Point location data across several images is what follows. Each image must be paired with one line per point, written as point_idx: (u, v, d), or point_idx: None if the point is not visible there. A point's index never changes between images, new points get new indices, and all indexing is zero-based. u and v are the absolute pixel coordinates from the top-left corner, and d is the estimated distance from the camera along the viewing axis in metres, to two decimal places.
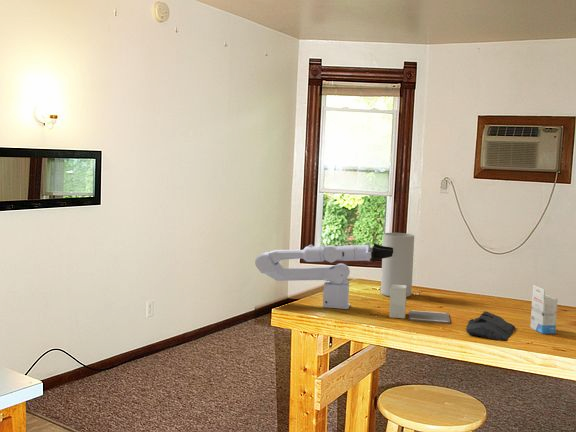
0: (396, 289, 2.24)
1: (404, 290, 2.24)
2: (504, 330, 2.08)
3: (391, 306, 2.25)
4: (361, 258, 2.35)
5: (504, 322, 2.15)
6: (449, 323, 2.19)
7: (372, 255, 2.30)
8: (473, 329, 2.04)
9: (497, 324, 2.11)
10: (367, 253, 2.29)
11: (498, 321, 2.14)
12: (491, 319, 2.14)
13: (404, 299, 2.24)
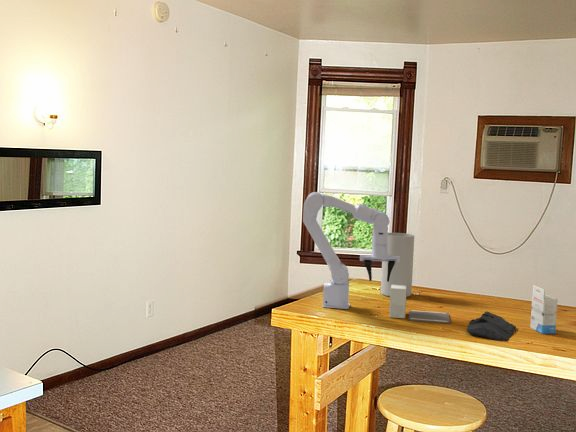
0: (396, 289, 2.24)
1: (404, 290, 2.24)
2: (505, 330, 2.07)
3: (391, 306, 2.25)
4: (385, 251, 2.35)
5: (505, 322, 2.15)
6: (449, 323, 2.19)
7: (394, 263, 2.36)
8: (474, 329, 2.04)
9: (498, 324, 2.11)
10: None
11: (499, 321, 2.14)
12: (492, 319, 2.14)
13: (404, 299, 2.24)
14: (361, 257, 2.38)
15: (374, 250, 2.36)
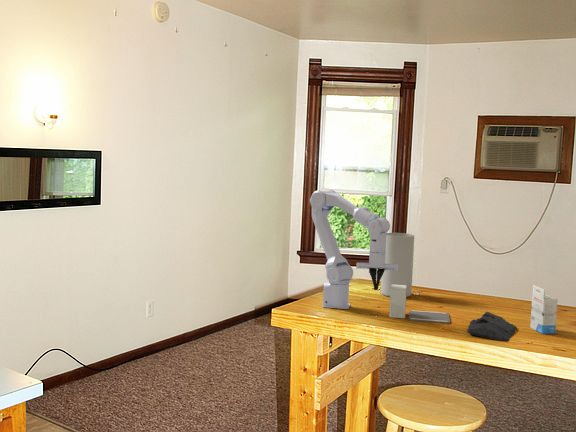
0: (396, 289, 2.24)
1: (404, 290, 2.24)
2: (506, 331, 2.07)
3: (391, 306, 2.25)
4: (383, 259, 2.26)
5: (506, 323, 2.15)
6: (449, 323, 2.19)
7: (384, 270, 2.28)
8: (474, 329, 2.04)
9: (498, 324, 2.11)
10: (397, 266, 2.28)
11: (500, 322, 2.14)
12: (493, 320, 2.14)
13: (404, 299, 2.24)
14: (358, 265, 2.29)
15: (371, 258, 2.27)
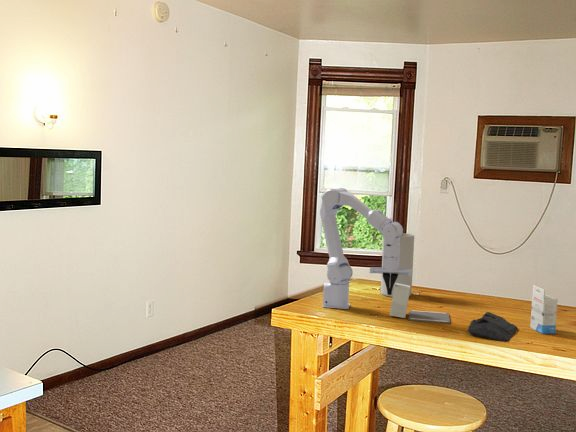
0: (400, 288, 2.24)
1: (408, 290, 2.23)
2: (506, 331, 2.07)
3: (393, 304, 2.25)
4: (396, 264, 2.26)
5: (506, 323, 2.15)
6: (449, 323, 2.19)
7: (397, 275, 2.27)
8: (475, 329, 2.04)
9: (499, 324, 2.10)
10: None
11: (500, 322, 2.14)
12: (493, 320, 2.13)
13: (407, 299, 2.24)
14: (371, 269, 2.28)
15: (385, 262, 2.26)
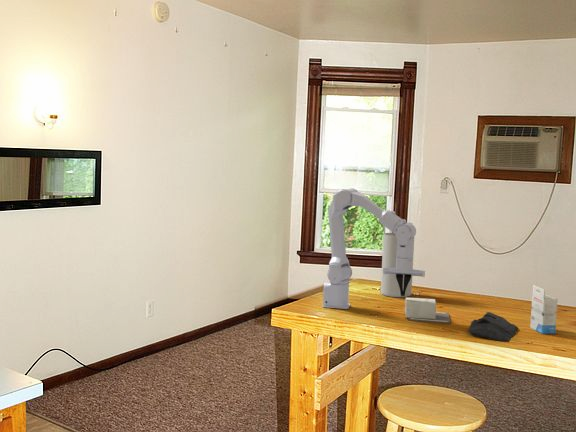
0: (435, 309, 2.22)
1: (434, 317, 2.22)
2: (506, 331, 2.07)
3: (417, 304, 2.23)
4: (410, 265, 2.25)
5: (507, 323, 2.14)
6: (449, 323, 2.19)
7: None
8: (475, 330, 2.03)
9: (499, 325, 2.10)
10: None
11: (501, 322, 2.13)
12: (494, 320, 2.13)
13: (424, 317, 2.23)
14: (384, 270, 2.27)
15: (398, 263, 2.25)
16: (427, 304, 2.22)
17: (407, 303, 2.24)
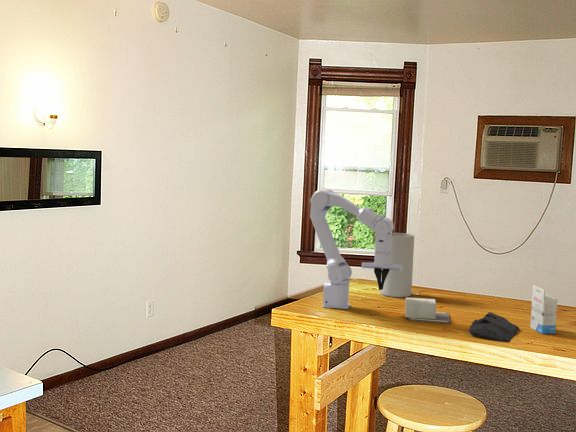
0: (435, 309, 2.22)
1: (434, 317, 2.22)
2: (507, 331, 2.07)
3: (417, 304, 2.23)
4: (388, 259, 2.29)
5: (508, 323, 2.14)
6: (449, 323, 2.19)
7: None
8: (475, 330, 2.03)
9: (500, 325, 2.10)
10: (402, 267, 2.31)
11: (502, 322, 2.13)
12: (495, 320, 2.13)
13: (424, 317, 2.23)
14: (363, 264, 2.32)
15: (376, 258, 2.30)
16: (427, 304, 2.22)
17: (407, 303, 2.24)
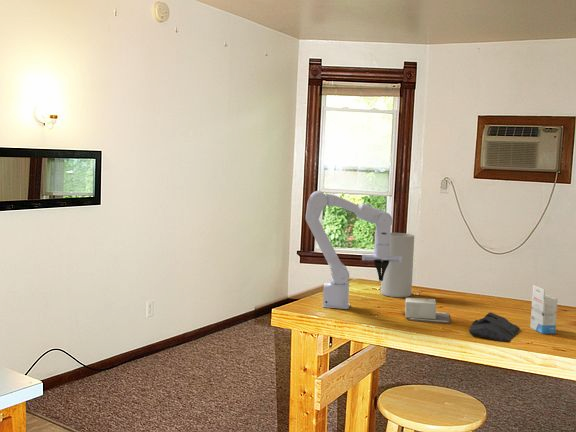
0: (435, 309, 2.22)
1: (434, 317, 2.22)
2: (508, 331, 2.06)
3: (417, 304, 2.23)
4: (387, 251, 2.36)
5: (508, 323, 2.14)
6: (449, 323, 2.19)
7: (388, 262, 2.38)
8: (476, 330, 2.03)
9: (501, 325, 2.10)
10: None
11: (502, 322, 2.13)
12: (495, 320, 2.13)
13: (424, 317, 2.23)
14: (363, 256, 2.39)
15: (376, 250, 2.36)
16: (427, 304, 2.22)
17: (407, 303, 2.24)
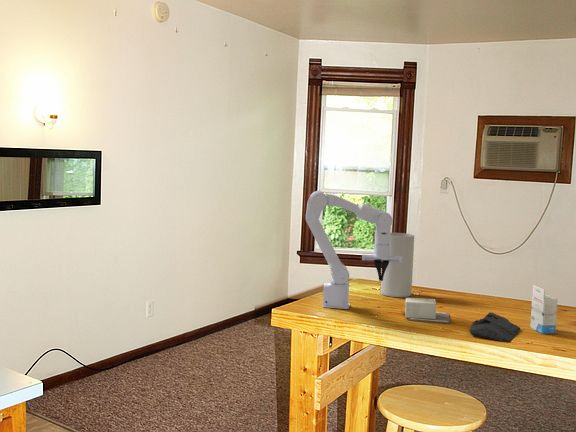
0: (435, 309, 2.22)
1: (434, 317, 2.22)
2: (508, 331, 2.06)
3: (417, 304, 2.23)
4: (387, 251, 2.36)
5: (509, 323, 2.14)
6: (449, 323, 2.19)
7: (388, 262, 2.38)
8: (476, 330, 2.03)
9: (501, 325, 2.10)
10: None
11: (503, 322, 2.13)
12: (495, 320, 2.13)
13: (424, 317, 2.23)
14: (363, 256, 2.39)
15: (376, 250, 2.36)
16: (427, 304, 2.22)
17: (407, 303, 2.24)
